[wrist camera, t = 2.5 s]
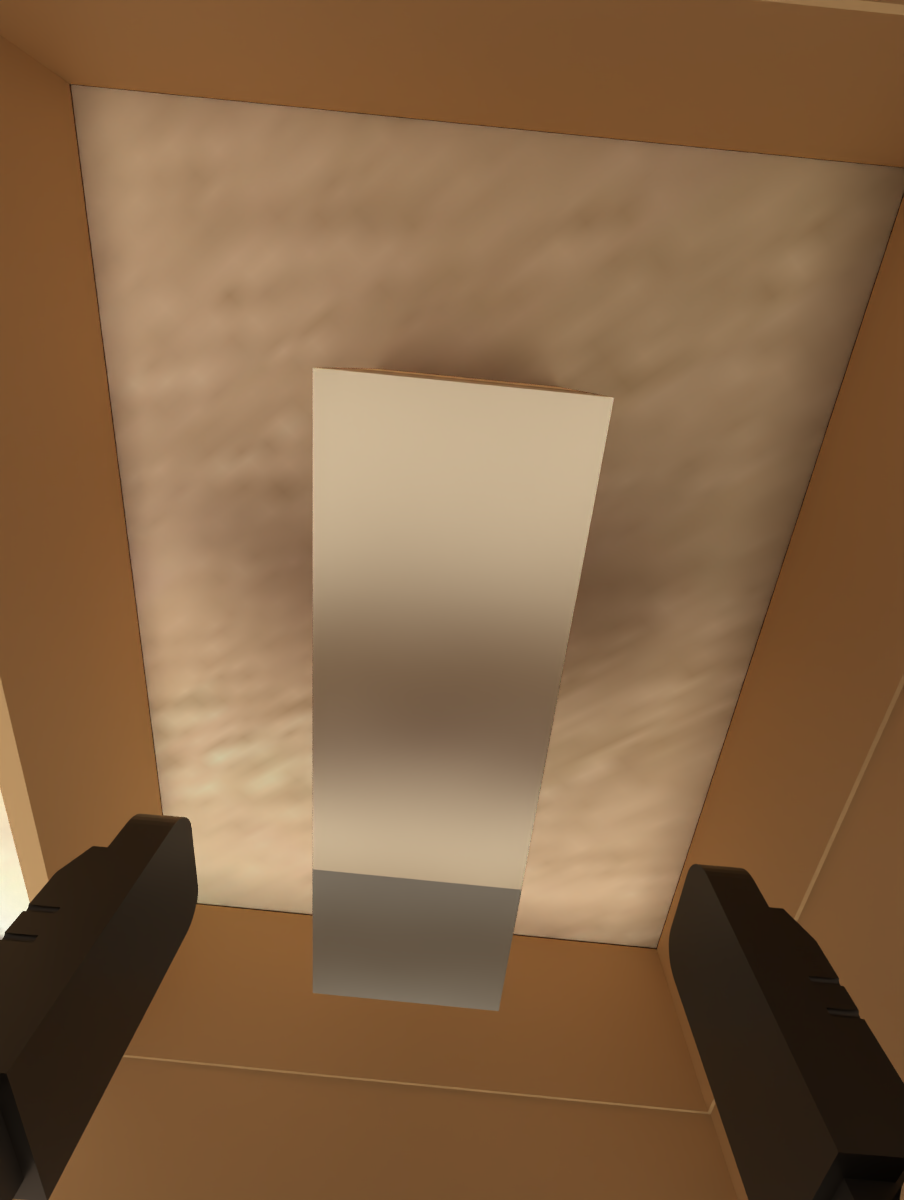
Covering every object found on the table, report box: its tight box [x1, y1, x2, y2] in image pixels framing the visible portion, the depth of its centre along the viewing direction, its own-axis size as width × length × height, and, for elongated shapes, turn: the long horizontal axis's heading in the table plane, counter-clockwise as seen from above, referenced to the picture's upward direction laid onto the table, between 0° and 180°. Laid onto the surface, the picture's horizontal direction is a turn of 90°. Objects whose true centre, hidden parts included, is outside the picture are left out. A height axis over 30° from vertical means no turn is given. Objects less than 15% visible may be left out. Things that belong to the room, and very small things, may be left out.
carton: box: [0, 0, 904, 1200], centre depth 12 cm, size 25×20×9 cm
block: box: [313, 368, 614, 1011], centre depth 14 cm, size 14×4×6 cm, turn 175°
